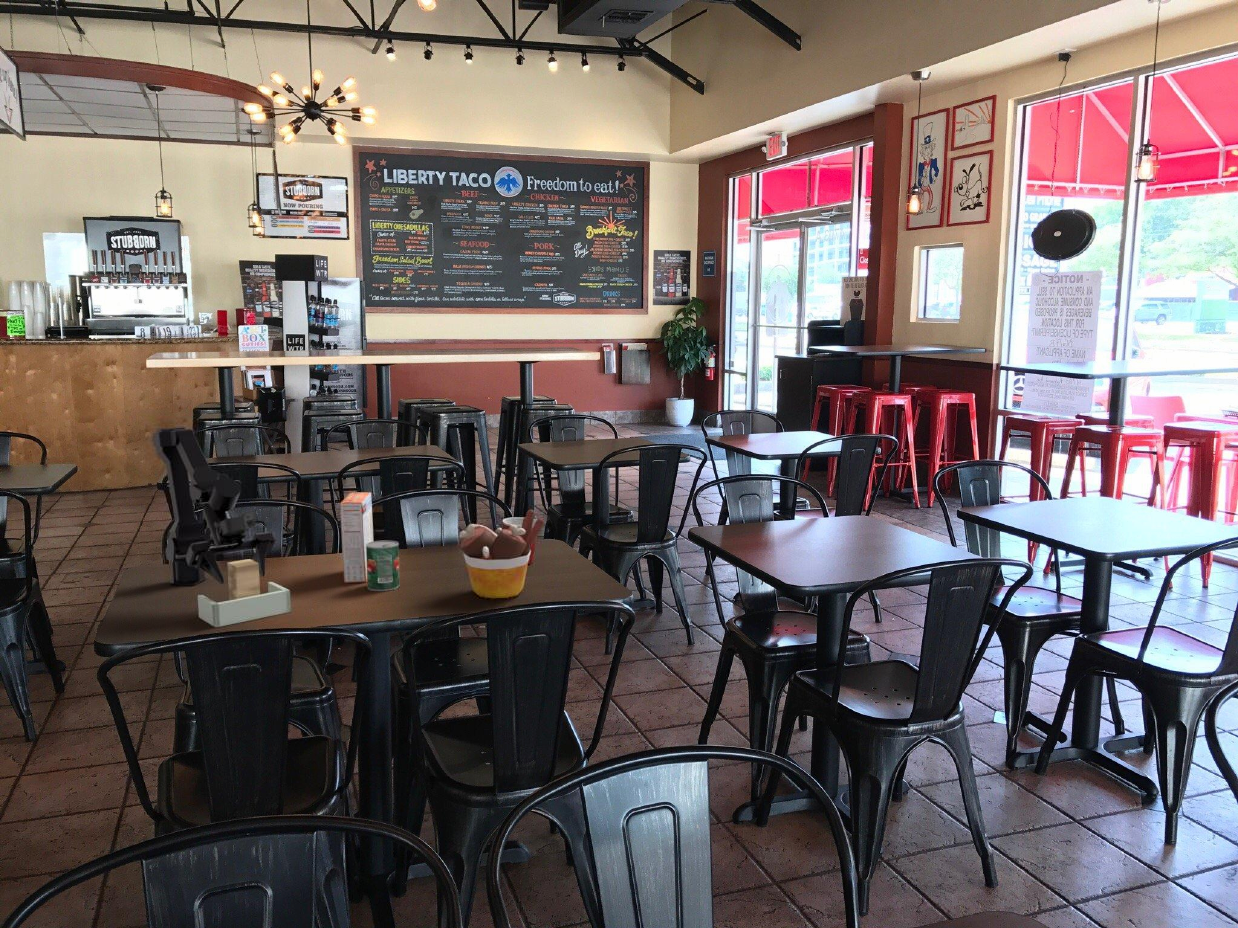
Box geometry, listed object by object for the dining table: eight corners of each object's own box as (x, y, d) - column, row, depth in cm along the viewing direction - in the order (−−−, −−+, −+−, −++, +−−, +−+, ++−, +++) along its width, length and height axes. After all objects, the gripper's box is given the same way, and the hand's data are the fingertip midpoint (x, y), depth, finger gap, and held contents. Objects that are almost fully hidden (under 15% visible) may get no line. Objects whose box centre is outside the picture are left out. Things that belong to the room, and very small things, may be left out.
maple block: (230, 614, 219) (227, 562, 217) (252, 609, 222) (249, 558, 221) (239, 619, 215) (236, 566, 214) (261, 614, 219) (258, 563, 217)
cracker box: (352, 569, 259) (349, 491, 255) (375, 568, 259) (372, 491, 256) (341, 583, 245) (338, 501, 242) (366, 583, 245) (363, 501, 242)
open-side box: (198, 617, 217) (197, 595, 216) (273, 602, 228) (272, 581, 228) (215, 627, 210) (214, 605, 209) (291, 611, 221) (290, 590, 220)
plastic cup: (540, 568, 260) (540, 524, 258) (500, 568, 260) (499, 524, 259) (544, 558, 271) (544, 516, 269) (505, 558, 271) (505, 515, 269)
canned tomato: (361, 587, 242) (359, 543, 240) (388, 580, 247) (386, 538, 246) (379, 593, 236) (377, 549, 235) (406, 586, 242) (405, 543, 240)
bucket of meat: (472, 607, 225) (470, 523, 222) (450, 589, 240) (448, 510, 237) (551, 596, 234) (551, 515, 231) (525, 579, 249) (525, 503, 246)
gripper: (187, 507, 213) (208, 566, 207) (270, 497, 226) (293, 552, 219) (176, 537, 220) (197, 594, 214) (258, 525, 232) (280, 579, 226)
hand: (243, 579), depth 218 cm, fingers open, 9 cm apart
